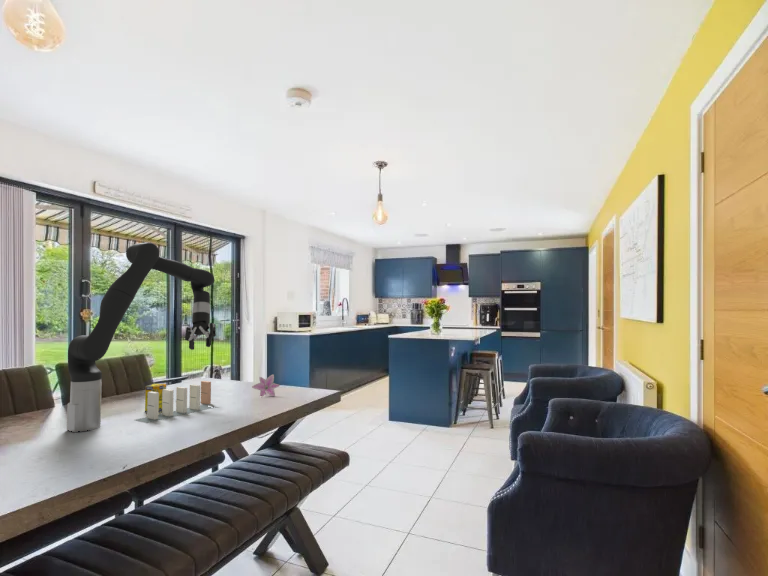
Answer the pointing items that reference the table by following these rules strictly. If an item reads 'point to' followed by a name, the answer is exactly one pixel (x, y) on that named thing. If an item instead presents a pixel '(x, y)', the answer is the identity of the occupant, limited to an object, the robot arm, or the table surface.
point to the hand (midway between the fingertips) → (200, 348)
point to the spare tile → (205, 392)
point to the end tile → (152, 405)
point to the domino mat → (161, 417)
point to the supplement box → (155, 388)
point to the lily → (266, 386)
